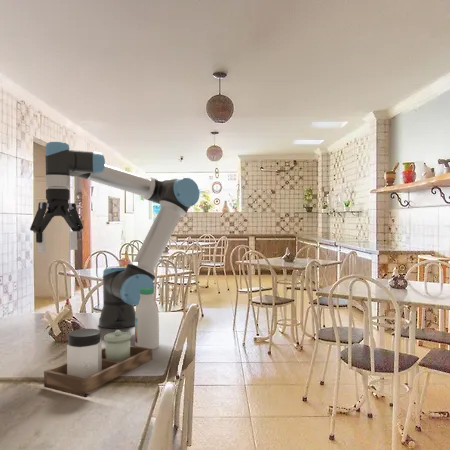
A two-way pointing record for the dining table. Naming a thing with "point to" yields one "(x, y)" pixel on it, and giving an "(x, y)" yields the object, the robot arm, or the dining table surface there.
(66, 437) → the dining table surface
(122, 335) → the sugar pot
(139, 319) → the milk bottle
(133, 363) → the caddy
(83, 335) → the jar
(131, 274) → the robot arm
